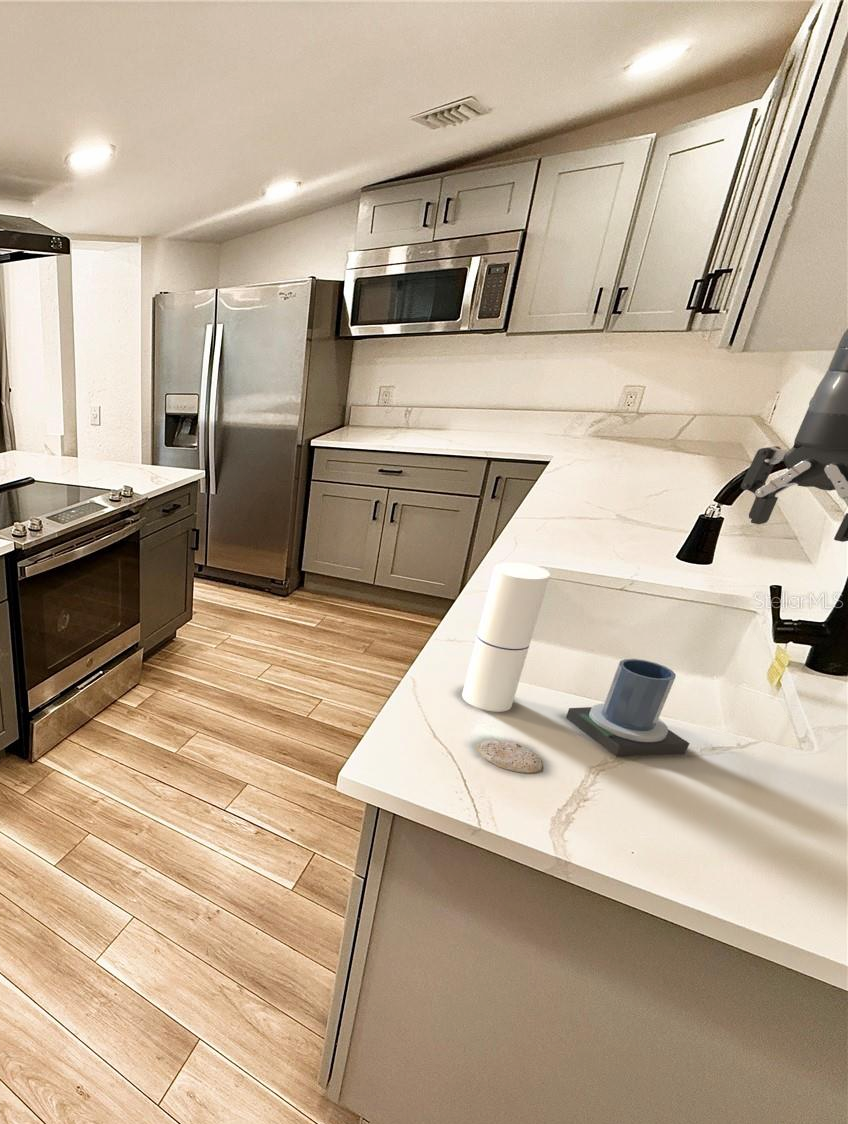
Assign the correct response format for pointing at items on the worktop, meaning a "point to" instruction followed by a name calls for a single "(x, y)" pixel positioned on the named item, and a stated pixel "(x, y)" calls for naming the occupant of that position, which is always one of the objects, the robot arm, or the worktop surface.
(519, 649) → the cylindrical container
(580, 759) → the worktop surface
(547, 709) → the worktop surface
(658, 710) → the tumbler
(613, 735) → the scale
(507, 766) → the flatbread
